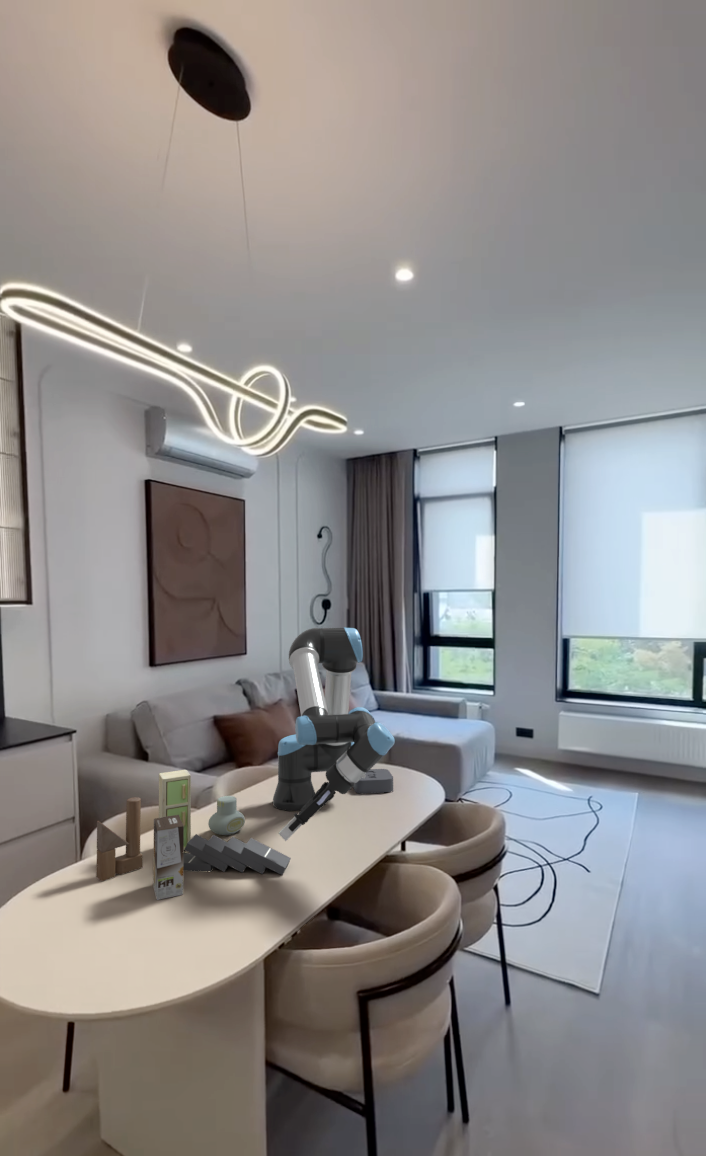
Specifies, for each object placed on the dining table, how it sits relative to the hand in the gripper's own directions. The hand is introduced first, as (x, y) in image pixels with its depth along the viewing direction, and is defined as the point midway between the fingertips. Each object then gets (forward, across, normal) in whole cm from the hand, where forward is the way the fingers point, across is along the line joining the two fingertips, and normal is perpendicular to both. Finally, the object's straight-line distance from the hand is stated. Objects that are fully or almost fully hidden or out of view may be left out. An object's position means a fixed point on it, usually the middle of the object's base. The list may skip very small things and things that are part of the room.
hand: (282, 836), depth 149 cm
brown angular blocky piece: (+36, -6, +23) cm, 43 cm away
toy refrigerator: (+30, +10, +18) cm, 36 cm away
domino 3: (+12, 0, +1) cm, 12 cm away
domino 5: (+5, 0, -6) cm, 8 cm away
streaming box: (-6, +72, -18) cm, 74 cm away
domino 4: (+8, 0, -2) cm, 9 cm away
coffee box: (+24, -13, +12) cm, 30 cm away
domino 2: (+19, 0, +8) cm, 20 cm away
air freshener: (+23, +24, +10) cm, 34 cm away
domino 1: (+16, 0, +5) cm, 16 cm away
